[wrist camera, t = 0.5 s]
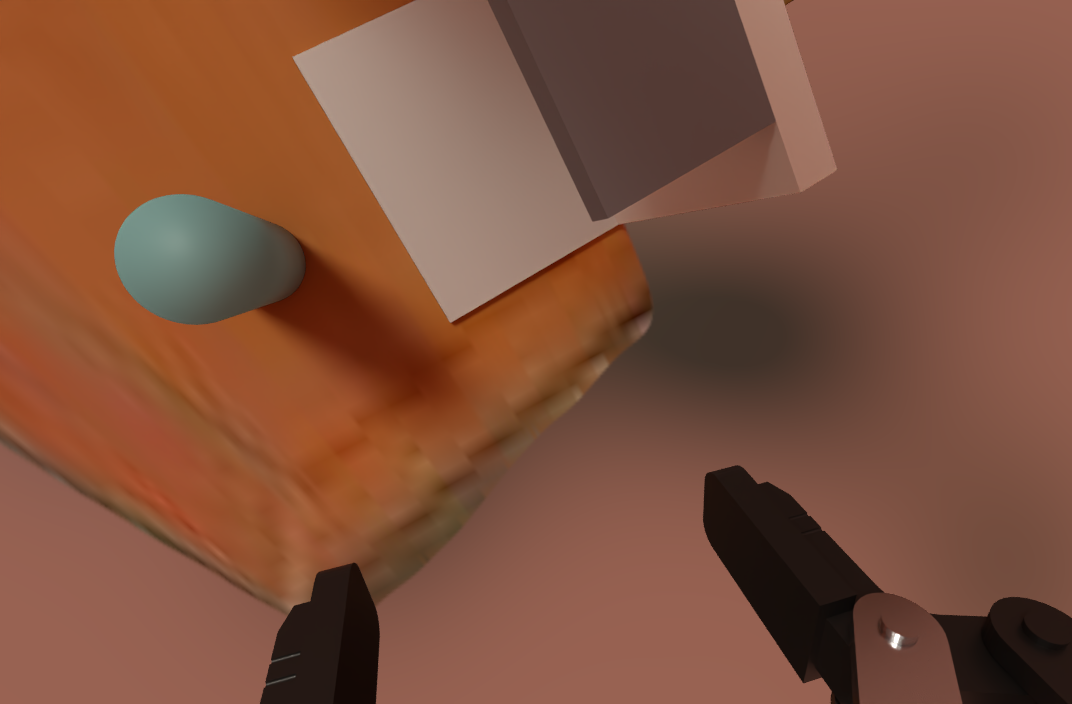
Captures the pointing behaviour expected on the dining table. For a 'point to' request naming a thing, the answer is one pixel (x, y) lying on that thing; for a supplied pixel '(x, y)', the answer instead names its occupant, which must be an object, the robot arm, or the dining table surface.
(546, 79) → the stand
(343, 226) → the dining table surface
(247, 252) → the post
